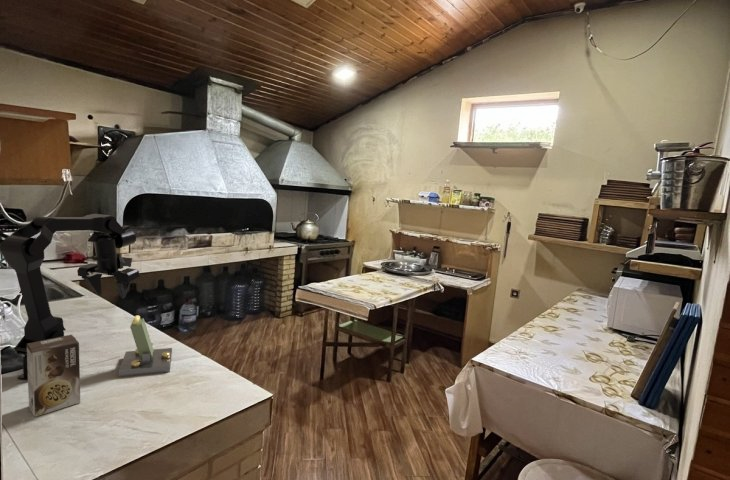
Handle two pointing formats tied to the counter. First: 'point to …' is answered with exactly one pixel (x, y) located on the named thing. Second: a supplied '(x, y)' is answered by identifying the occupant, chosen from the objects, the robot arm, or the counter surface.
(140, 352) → the green lever
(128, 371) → the base
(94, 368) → the counter surface
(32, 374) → the coffee box
